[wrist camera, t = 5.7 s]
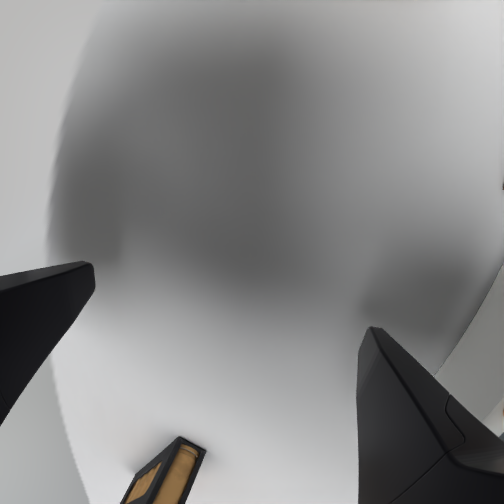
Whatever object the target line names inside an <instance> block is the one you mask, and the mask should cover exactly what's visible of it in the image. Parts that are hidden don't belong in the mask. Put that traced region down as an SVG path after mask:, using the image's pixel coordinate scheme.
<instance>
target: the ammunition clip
mask: <svg viewBox="0 0 504 504" xmlns="http://www.w3.org/2000/svg"><path fill="white" fill-rule="evenodd" d="M205 454H206V451H204V450H202V449H200V448H198V447H197V446H195V445H193V444H191V443H189V442H187V441H185V440H184V439H182V438H180V437H177V438H176V439H175V440H174V441H173V442H172V443H171V444H170V445H169V446H168V447H166V448H165V449H164V450H163V451H162V452H161V453H160V454H159V455H157V456H156V457H155V458H154V459H153V460H152V461H151V462H149V463H148V464H147V465H146V466H145V467H144V468H142V469H141V470H140V471H139V472H138V473H136V475H135V476H134V478H133V480H132V482H131V484H130V486H129V488H128V489H127V491H126V493H125V495H124V497H123V499H122V501H121V502H120V504H185V502H186V500H187V497H188V495H189V493H190V490H191V488H192V485H193V483H194V481H195V478H196V476H197V473H198V471H199V468H200V466H201V463H202V461H203V459H204V456H205Z"/></svg>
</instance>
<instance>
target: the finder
mask: <svg viewBox="0 0 504 504" xmlns="http://www.w3.org/2000/svg"><path fill="white" fill-rule="evenodd" d="M434 378H435V379H436V380H437V381H438V382H439V383H440V384H441V385H442V386H443V387H444V388H445V389H446V390H447V391H448V392H449V394H451V395H452V396H453V397H454V398H455V399H456V400H457V401H458V402H460V403H461V404H462V405H463V406H464V407H465V408H466V409H467V410H468V411H469V412H470V413H471V414H472V415H474V416H475V417H476V418H477V419H478V420H479V421H480V422H481V423H483V424H484V425H485V426H486V427H487V428H489V429H490V430H491V431H492V432H493V433H494V434H496V435H497V436H498V437H499V438H500V439H501V440H503V441H504V262H503V265H502V267H501V269H500V271H499V273H498V275H497V277H496V279H495V281H494V283H493V285H492V287H491V288H490V290H489V292H488V294H487V296H486V298H485V300H484V301H483V303H482V305H481V307H480V308H479V310H478V312H477V313H476V315H475V317H474V318H473V320H472V322H471V323H470V325H469V327H468V328H467V330H466V331H465V333H464V334H463V336H462V338H461V339H460V341H459V342H458V344H457V345H456V347H455V348H454V349H453V351H452V352H451V354H450V355H449V357H448V358H447V359H446V361H445V362H444V364H443V365H442V366H441V368H440V369H439V370H438V372H437V373H436V374H435V376H434Z"/></svg>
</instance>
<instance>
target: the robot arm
mask: <svg viewBox="0 0 504 504" xmlns="http://www.w3.org/2000/svg"><path fill="white" fill-rule="evenodd" d="M94 290H95V276H94V267H93V265H92V264H91V263H89V262H85V261H78V262H73V263H67V264H62V265H56V266H51V267H45V268H40V269H35V270H29V271H24V272H19V273H14V274H9V275H3V276H0V426H1V424H2V423H3V421H4V420H5V418H6V416H7V415H8V413H9V412H10V409H11V408H12V407H13V405H14V404H15V402H16V401H17V399H18V397H19V396H20V394H21V393H22V392H23V390H24V389H25V387H26V386H27V384H28V383H29V382H30V380H31V379H32V377H33V376H34V374H35V373H36V372H37V370H38V369H39V367H40V366H41V365H42V363H43V362H44V361H45V359H46V358H47V357H48V355H49V354H50V353H51V351H52V350H53V349H54V347H55V346H56V345H57V343H58V342H59V341H60V339H61V338H62V337H63V336H64V334H65V333H66V332H67V330H68V329H69V328H70V327H71V325H72V324H73V323H74V321H75V320H76V318H77V317H78V315H79V314H80V312H81V310H82V309H83V307H84V306H85V304H86V303H87V301H88V300H89V298H90V297H91V295H92V294H93V292H94ZM356 405H357V424H358V458H359V491H358V504H504V441H503V440H501V439H500V438H499V437H498V436H497V435H496V434H494V433H493V432H492V431H491V430H490V429H489V428H487V427H486V426H485V425H484V424H483V423H481V422H480V421H479V420H478V419H477V418H476V417H475V416H474V415H472V414H471V413H470V412H469V411H468V410H467V409H466V408H465V407H464V406H463V405H462V404H461V403H460V402H458V401H457V400H456V399H455V398H454V397H453V396H452V395H451V394H449V392H448V391H447V390H446V389H445V388H444V387H443V386H442V385H441V384H440V383H439V382H438V381H437V380H436V379H435V378H434V377H433V376H432V375H431V374H430V373H429V372H428V371H427V370H426V369H425V368H424V367H423V366H422V365H421V364H419V363H418V362H417V361H416V360H415V359H414V358H413V357H412V356H411V355H410V354H409V353H408V352H407V351H406V350H405V349H404V348H403V347H402V346H401V345H399V344H398V343H397V342H396V341H395V340H394V339H393V338H392V337H391V336H390V335H389V334H388V333H387V332H386V331H385V330H383V329H382V328H378V327H369V328H368V329H367V331H366V334H365V336H364V339H363V341H362V344H361V346H360V349H359V352H358V371H357V390H356Z"/></svg>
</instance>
